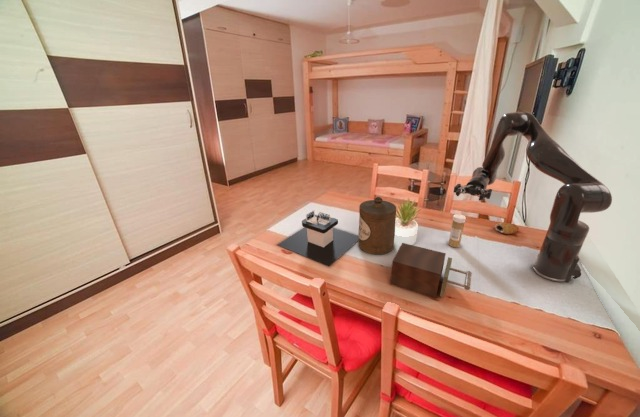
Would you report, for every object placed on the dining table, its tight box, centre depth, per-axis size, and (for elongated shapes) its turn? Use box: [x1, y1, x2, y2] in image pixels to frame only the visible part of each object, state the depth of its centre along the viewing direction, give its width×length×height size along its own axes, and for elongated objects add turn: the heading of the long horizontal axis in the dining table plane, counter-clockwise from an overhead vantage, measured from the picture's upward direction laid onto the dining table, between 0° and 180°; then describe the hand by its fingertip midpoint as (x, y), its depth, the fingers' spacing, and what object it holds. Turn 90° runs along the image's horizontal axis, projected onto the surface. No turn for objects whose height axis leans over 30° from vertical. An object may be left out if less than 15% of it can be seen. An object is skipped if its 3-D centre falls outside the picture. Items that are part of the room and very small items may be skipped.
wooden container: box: [358, 196, 397, 255], centre depth 108 cm, size 15×15×22 cm
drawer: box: [439, 256, 472, 298], centre depth 86 cm, size 20×11×8 cm, turn 59°
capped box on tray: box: [277, 209, 359, 267], centre depth 114 cm, size 28×26×13 cm
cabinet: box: [389, 242, 447, 299], centre depth 89 cm, size 15×13×10 cm
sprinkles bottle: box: [447, 213, 467, 248], centre depth 107 cm, size 5×5×14 cm
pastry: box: [493, 221, 519, 235], centre depth 118 cm, size 9×7×4 cm
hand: (468, 196), depth 110 cm, fingers open, 8 cm apart
